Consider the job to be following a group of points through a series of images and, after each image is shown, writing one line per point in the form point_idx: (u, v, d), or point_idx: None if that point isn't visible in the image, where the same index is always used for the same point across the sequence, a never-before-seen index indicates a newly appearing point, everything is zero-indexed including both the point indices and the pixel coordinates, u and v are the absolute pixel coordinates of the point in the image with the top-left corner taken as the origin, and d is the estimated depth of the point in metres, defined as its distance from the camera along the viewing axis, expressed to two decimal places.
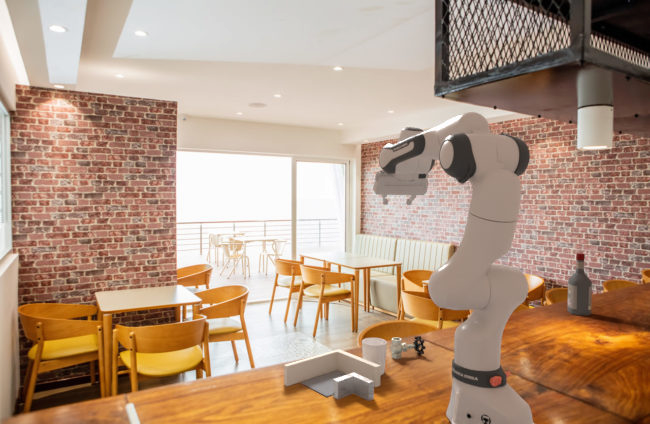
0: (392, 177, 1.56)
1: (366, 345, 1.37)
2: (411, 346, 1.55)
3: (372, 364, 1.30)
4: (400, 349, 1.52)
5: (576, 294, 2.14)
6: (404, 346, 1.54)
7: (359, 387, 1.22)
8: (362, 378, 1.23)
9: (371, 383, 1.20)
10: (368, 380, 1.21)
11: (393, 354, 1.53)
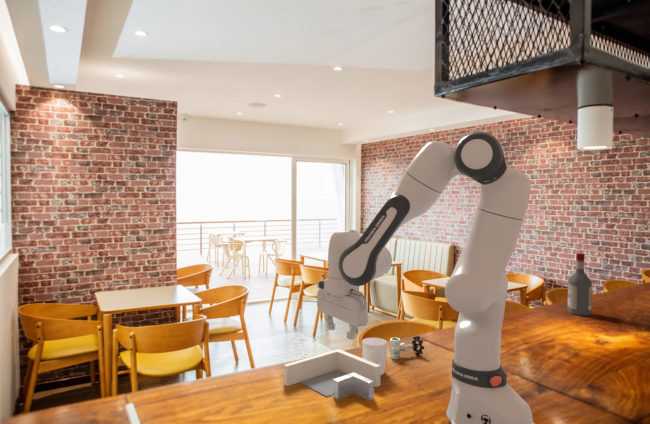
0: None
1: (366, 345, 1.37)
2: (410, 346, 1.55)
3: (372, 364, 1.30)
4: (399, 349, 1.52)
5: (576, 294, 2.14)
6: (403, 346, 1.53)
7: (359, 387, 1.22)
8: (362, 378, 1.23)
9: (371, 383, 1.20)
10: (368, 380, 1.21)
11: (392, 354, 1.52)
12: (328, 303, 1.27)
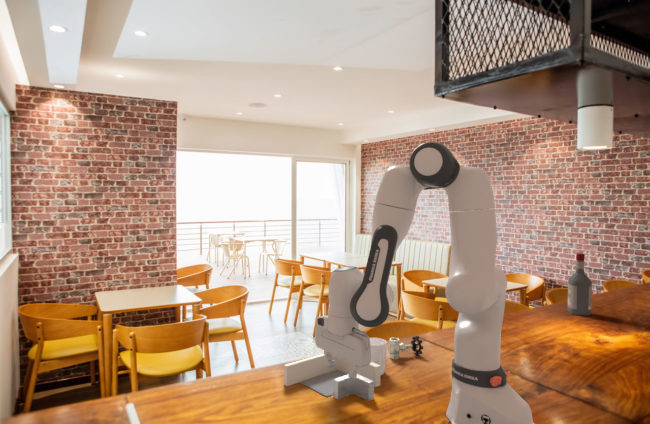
0: None
1: None
2: (409, 346, 1.55)
3: (372, 364, 1.30)
4: (398, 349, 1.52)
5: (576, 294, 2.14)
6: (402, 346, 1.53)
7: (359, 387, 1.22)
8: (362, 378, 1.23)
9: (371, 383, 1.20)
10: (368, 380, 1.21)
11: (391, 354, 1.52)
12: (327, 341, 1.25)
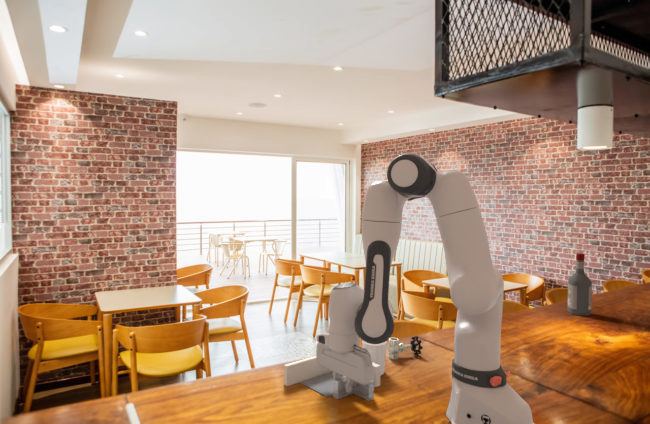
0: None
1: (366, 345, 1.37)
2: (408, 346, 1.55)
3: (372, 364, 1.30)
4: (397, 349, 1.52)
5: (576, 294, 2.14)
6: (401, 346, 1.53)
7: (359, 387, 1.22)
8: None
9: (371, 383, 1.20)
10: None
11: (390, 354, 1.52)
12: (329, 358, 1.25)
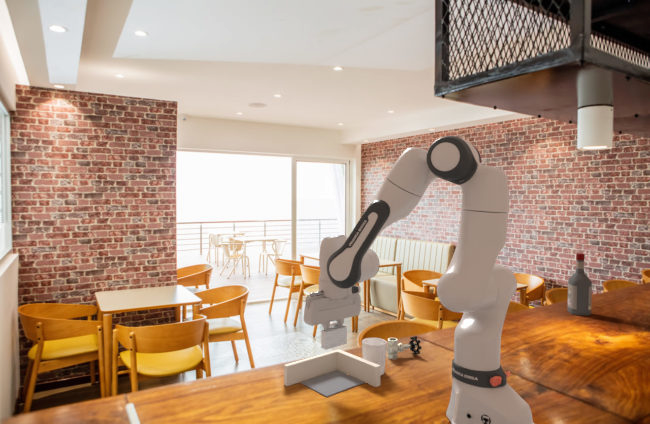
0: (325, 298, 1.26)
1: (366, 345, 1.37)
2: (407, 346, 1.55)
3: (372, 364, 1.30)
4: (396, 349, 1.52)
5: (576, 294, 2.14)
6: (400, 346, 1.53)
7: None
8: (332, 328, 1.25)
9: (323, 332, 1.23)
10: (327, 330, 1.24)
11: (389, 354, 1.52)
12: None
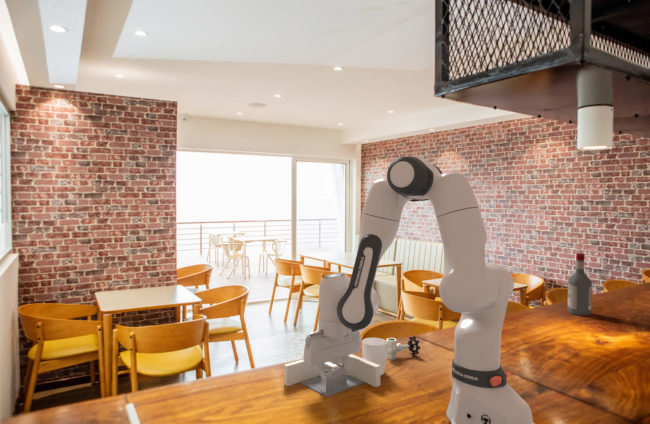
0: (325, 338, 1.26)
1: (366, 345, 1.37)
2: (406, 346, 1.55)
3: (372, 364, 1.30)
4: (395, 349, 1.51)
5: (576, 294, 2.14)
6: (399, 346, 1.53)
7: None
8: (332, 372, 1.26)
9: (323, 376, 1.23)
10: (327, 374, 1.24)
11: (388, 355, 1.52)
12: None
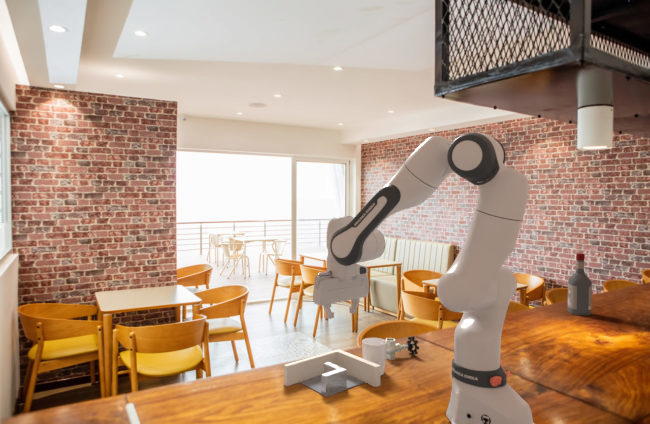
0: (333, 278, 1.27)
1: (366, 345, 1.37)
2: (405, 346, 1.54)
3: (372, 364, 1.30)
4: (394, 350, 1.51)
5: (576, 294, 2.14)
6: (398, 346, 1.53)
7: None
8: (332, 372, 1.26)
9: (323, 376, 1.23)
10: (327, 374, 1.24)
11: (387, 355, 1.52)
12: None
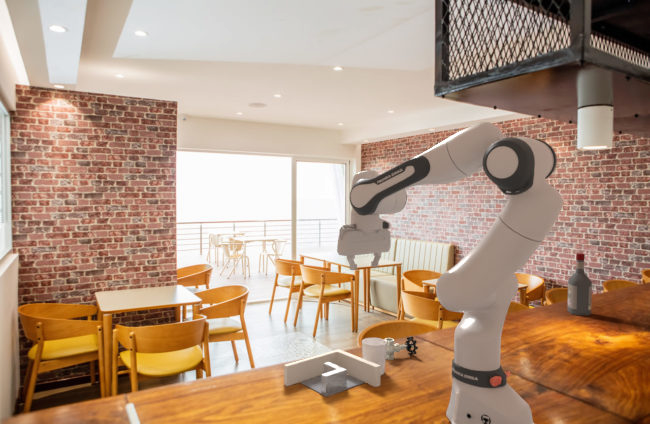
0: (358, 231, 1.30)
1: (366, 345, 1.37)
2: (403, 346, 1.54)
3: (372, 364, 1.30)
4: (393, 350, 1.51)
5: (576, 294, 2.14)
6: (397, 347, 1.53)
7: None
8: (332, 372, 1.26)
9: (323, 376, 1.23)
10: (327, 374, 1.24)
11: (386, 355, 1.52)
12: None
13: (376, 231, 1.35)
